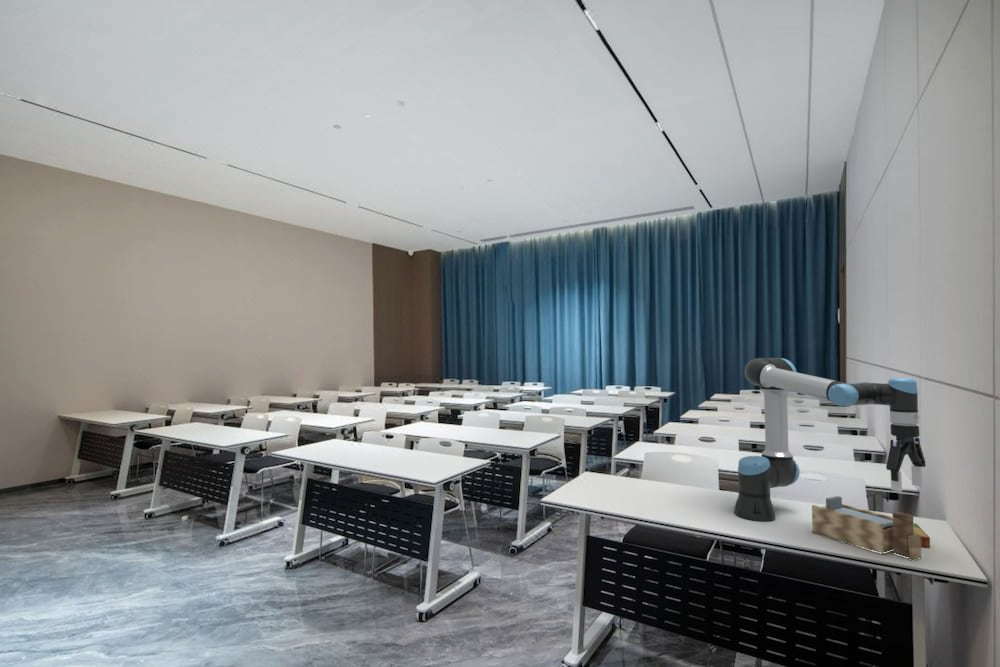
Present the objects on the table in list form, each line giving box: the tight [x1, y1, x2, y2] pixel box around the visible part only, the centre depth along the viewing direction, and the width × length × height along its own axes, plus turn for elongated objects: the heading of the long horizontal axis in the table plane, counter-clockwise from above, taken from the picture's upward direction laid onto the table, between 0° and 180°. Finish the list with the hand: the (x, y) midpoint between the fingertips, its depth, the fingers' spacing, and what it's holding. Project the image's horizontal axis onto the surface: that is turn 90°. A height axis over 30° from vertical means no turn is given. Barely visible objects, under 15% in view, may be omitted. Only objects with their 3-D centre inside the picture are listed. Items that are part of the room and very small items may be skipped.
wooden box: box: [811, 503, 922, 561], centre depth 177 cm, size 30×12×10 cm, turn 27°
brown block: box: [892, 511, 914, 557], centre depth 167 cm, size 5×4×14 cm
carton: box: [913, 522, 931, 549], centre depth 181 cm, size 8×16×4 cm, turn 153°
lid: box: [822, 495, 893, 528], centre depth 180 cm, size 21×9×5 cm, turn 27°
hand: (907, 488), depth 168 cm, fingers open, 13 cm apart
